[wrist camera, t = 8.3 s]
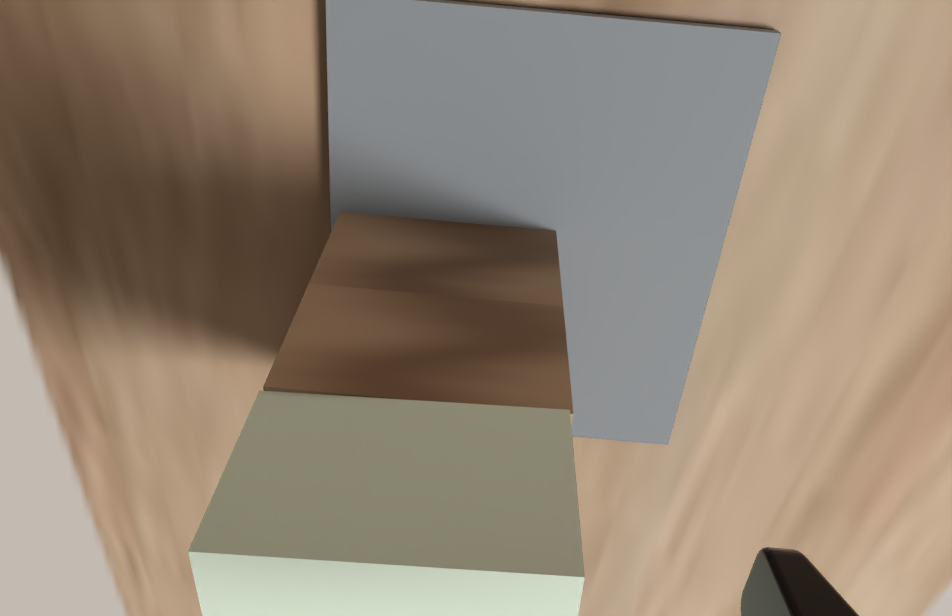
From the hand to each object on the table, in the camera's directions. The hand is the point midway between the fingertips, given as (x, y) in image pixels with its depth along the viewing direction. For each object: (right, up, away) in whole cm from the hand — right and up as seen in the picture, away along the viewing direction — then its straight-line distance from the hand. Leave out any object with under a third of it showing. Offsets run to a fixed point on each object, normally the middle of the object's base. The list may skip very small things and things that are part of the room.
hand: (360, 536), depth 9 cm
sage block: (0, -1, +6) cm, 7 cm away
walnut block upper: (0, +1, +10) cm, 10 cm away
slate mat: (+3, +4, +12) cm, 13 cm away
